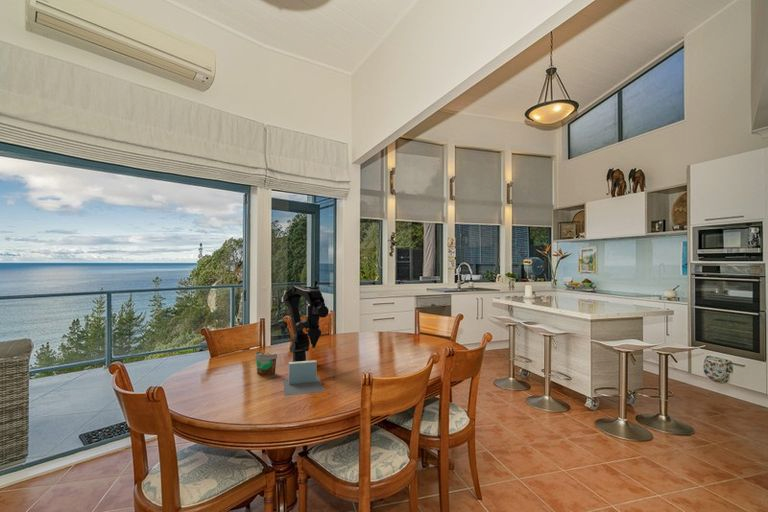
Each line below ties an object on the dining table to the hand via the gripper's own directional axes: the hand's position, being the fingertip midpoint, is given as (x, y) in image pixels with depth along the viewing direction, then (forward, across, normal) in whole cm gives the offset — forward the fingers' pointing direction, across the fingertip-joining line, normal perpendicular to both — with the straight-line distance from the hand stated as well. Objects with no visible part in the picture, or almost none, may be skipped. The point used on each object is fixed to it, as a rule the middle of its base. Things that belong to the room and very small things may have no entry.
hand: (312, 346), depth 175 cm
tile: (+11, +18, -6) cm, 22 cm away
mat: (+12, +22, -6) cm, 26 cm away
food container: (+12, +1, -24) cm, 26 cm away
